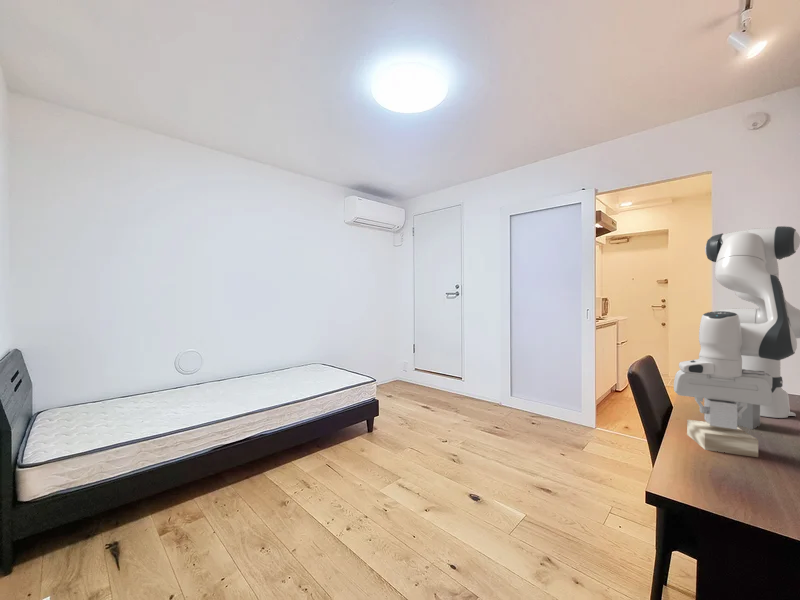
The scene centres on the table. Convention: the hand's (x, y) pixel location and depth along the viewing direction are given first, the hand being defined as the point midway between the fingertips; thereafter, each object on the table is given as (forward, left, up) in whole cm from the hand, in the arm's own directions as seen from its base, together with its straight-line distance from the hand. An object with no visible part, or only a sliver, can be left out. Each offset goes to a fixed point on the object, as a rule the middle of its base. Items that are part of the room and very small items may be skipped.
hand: (719, 415), depth 91 cm
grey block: (0, 0, -3) cm, 3 cm away
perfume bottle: (-26, +12, -9) cm, 30 cm away
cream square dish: (0, 0, -9) cm, 9 cm away
